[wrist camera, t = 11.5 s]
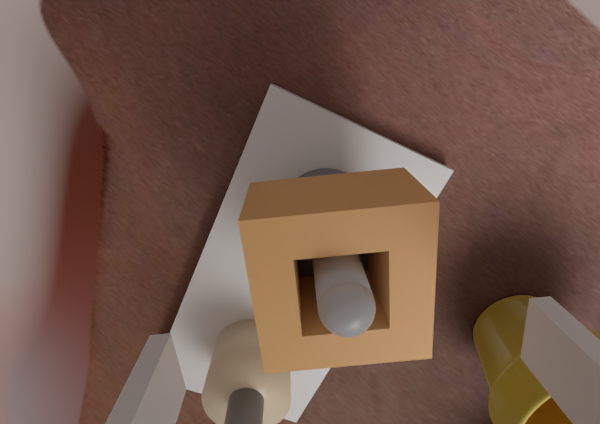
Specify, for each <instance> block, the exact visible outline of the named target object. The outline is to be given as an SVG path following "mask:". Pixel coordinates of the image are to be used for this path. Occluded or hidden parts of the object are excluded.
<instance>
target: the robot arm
mask: <svg viewBox="0 0 600 424" xmlns="http://www.w3.org/2000/svg"><path fill="white" fill-rule="evenodd" d="M520 358H521V359H522V361H523V362H524V363H525V364H526V366H527V367H528V368H529V369H530V371H531V372H532V373H533V374H534V376H535V377H536V378H537V380H538V381H539V382H540V383H541V385H542V386H543V387H544V388H545V390H546V391H547V392H548V393H549V395H550V396H551V397H552V398H553V400H554V401H555V402H556V404H557V405H558V406H559V407H560V409H561V410H562V411H563V412H564V414H565V415H566V416H567V417H568V419H569V420H570V421H571V422H572V424H600V340H599V339H598V338H597V337H596V336H595V335H594V334H593V333H591V332H590V331H589V330H588V329H587V328H586V327H585V326H584V325H582V324H581V323H580V322H579V321H578V320H577V319H576V318H574V317H573V316H572V315H571V314H570V313H569V312H568V311H567V310H565V309H564V308H563V307H562V306H561V305H560V304H559V303H558V302H556V301H555V300H554V299H553V298H552V297H551V296H547V297H536V298H529V303H528V310H527V316H526V323H525V329H524V336H523V342H522V349H521V355H520ZM185 393H186V387H185V383H184V379H183V376H182V372H181V368H180V365H179V361H178V357H177V354H176V350H175V346H174V343H173V339H172V335H171V333H167V334H157V335H150V336H149V338H148V340H147V342H146V344H145V346H144V348H143V350H142V352H141V354H140V356H139V358H138V360H137V362H136V364H135V366H134V368H133V370H132V372H131V374H130V376H129V378H128V380H127V382H126V384H125V386H124V387H123V389H122V391H121V393H120V395H119V397H118V399H117V401H116V403H115V405H114V407H113V409H112V411H111V413H110V415H109V417H108V419H107V421H106V423H105V424H176V421H177V418H178V415H179V412H180V409H181V405H182V402H183V399H184V396H185Z"/></svg>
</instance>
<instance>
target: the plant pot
mask: <svg viewBox="0 0 600 424" xmlns="http://www.w3.org/2000/svg"><path fill="white" fill-rule="evenodd" d="M529 298H536V297H534V296H530V295H515V296H511V297H507V298H503V299H501V300H499V301H497V302H495V303H493V304H492V305H490V306H489V307H488V308H486V309H485V310H484V311H483V312H482V314H481V315H480V316H479V318H478V319H477V321H476V323H475V325H474V329H473V340H474V344H475V346H476V349H477V352H478V355H479V359H480V362H481V365H482V368H483V371H484V374H485V378H486V381H487V384H488V387H489V390H490V393H489V398H488V409H489V414H490V418H491V420H492V422H493V424H572V422H571V421H570V420H569V419H568V417H567V416H566V415H565V414H564V412H563V411H562V410H561V409H560V407H559V406H558V405H557V404H556V402H555V401H554V400H553V398H552V397H551V396H550V395H549V393H548V392H547V391H546V390H545V388H544V387H543V386H542V385H541V383H540V382H539V381H538V380H537V378H536V377H535V376H534V374H533V373H532V372H531V371H530V369H529V368H528V367H527V366H526V364H525V363H524V362H523V361H522V359H521V358H520V355H521V349H522V342H523V336H524V329H525V323H526V316H527V310H528V303H529ZM582 325H583V324H582ZM584 326H585V325H584ZM585 327H586V326H585ZM586 328H587V329H588V330H589V331H590V332H591V333H593V334H594V335H595V336H596V337H597V338H598V339H599V340H600V332H595V331H593V330H591V329H590V328H588V327H586Z"/></svg>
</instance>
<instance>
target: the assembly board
mask: <svg viewBox="0 0 600 424" xmlns="http://www.w3.org/2000/svg"><path fill="white" fill-rule="evenodd" d="M402 167H404V168H405V169H406V170H407V171H408V172H409V173H410V174H412V175H413V176H414V177H415V178H416V179H417V180H418V181H419V182H420V183H421V184H422V185H423V186H424V187H425V188H426V189H427V190H428V191H429V192H430V193H431V194H433V195H434V196H435V197H436V198H437V197H438V196H439V194H440V192H441V191H442V189H443V188H444V186H445V184H446V183H447V181H448V180H449V178H450V176H451V175H452V173H453V172H454V171H453V170H452V169H450V168H449V167H447V166H446V165H443V164H441V163H439V162H437V161H435V160H433V159H431V158H429V157H427V156H425V155H422V154H420V153H418V152H416V151H414V150H412V149H410V148H408V147H406V146H403V145H401V144H399V143H397V142H395V141H393V140H391V139H389V138H387V137H384V136H382V135H380V134H378V133H376V132H374V131H372V130H370V129H368V128H365V127H363V126H361V125H359V124H357V123H355V122H353V121H351V120H349V119H346V118H344V117H342V116H340V115H338V114H336V113H334V112H332V111H330V110H327V109H325V108H323V107H321V106H319V105H317V104H315V103H313V102H311V101H309V100H306V99H304V98H302V97H300V96H298V95H296V94H294V93H292V92H290V91H287V90H285V89H283V88H281V87H279V86H277V85H275V84H273V83H271V84H270V86H269V89H268V91H267V94H266V96H265V99H264V101H263V104H262V106H261V109H260V111H259V114H258V116H257V119H256V121H255V123H254V126H253V128H252V131H251V133H250V136H249V138H248V141H247V143H246V146H245V148H244V151H243V153H242V155H241V158H240V160H239V163H238V165H237V168H236V170H235V173H234V175H233V178H232V180H231V183H230V185H229V188H228V190H227V192H226V195H225V197H224V200H223V202H222V205H221V207H220V210H219V212H218V215H217V217H216V220H215V222H214V224H213V227H212V229H211V232H210V234H209V237H208V239H207V242H206V244H205V247H204V249H203V252H202V254H201V257H200V259H199V261H198V264H197V266H196V269H195V271H194V274H193V276H192V279H191V281H190V284H189V286H188V289H187V291H186V293H185V296H184V298H183V301H182V303H181V306H180V308H179V311H178V313H177V316H176V318H175V321H174V323H173V326H172V328H171V330H170V333H171V335H172V339H173V343H174V346H175V350H176V354H177V357H178V361H179V365H180V368H181V372H182V376H183V379H184V383H185V387H186V389H187V390H191V391H194V392H197V393H201V394H202V397H201V401H202V406H203V409H204V411H205V413H206V414H207V415H208V417H209V418H210V419H211V420H212V421H214V422H215V423H216V424H278V423H279V422H280V421H281V420H282V419H286V420H290V421H293V422H297V421H298V419H299V417H300V416H301V414H302V413H303V411H304V409H305V408H306V406H307V405H308V403H309V401H310V400H311V398H312V397H313V395H314V394H315V392H316V390H317V389H318V387H319V386H320V384H321V382H322V381H323V379H324V378H325V376H326V374H327V373H328V371H329V370H330V368H322V369H312V370H301V371H290V372H279V373H268V374H264V369H263V363H262V357H261V351H260V346H259V340H258V334H257V328H256V322H255V317H254V311H253V305H252V299H251V293H250V288H249V282H248V276H247V270H246V264H245V259H244V253H243V247H242V241H241V235H240V230H239V224H238V220H239V216H240V213H241V210H242V207H243V204H244V201H245V198H246V194H247V191H248V188H249V185H250V182H261V181H271V180H281V179H291V178H301V177H311V176H321V175H331V174H342V173H352V172H362V171H372V170H382V169H392V168H402ZM298 268H299V277H310V276H314V281H315V290H316V299H317V308H318V314H319V317H320V320H321V322H322V323H323V325H324V326H325V327H326V328H327V329H328V330H329V331H330V332H331V333H333V334H335V335H337V336H340V337H355V336H358V335H360V334H362V333H364V332H365V331H366V330H367V329H368V328H369V327H370V326H371V324H372V322H373V320H374V318H375V313H376V304H375V300H374V296H373V294H372V291H371V288H370V285H369V282H368V279H367V277H366V274H365V271H368V253H363V254H353V255H342V256H332V257H322V258H311V259H301V260H298Z"/></svg>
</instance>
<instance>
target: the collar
mask: <svg viewBox="0 0 600 424" xmlns="http://www.w3.org/2000/svg"><path fill="white" fill-rule="evenodd" d="M439 206H440V201H439V200H438V199H437V198H436V197H435V196H434V195H433V194H431V193H430V192H429V191H428V190H427V189H426V188H425V187H424V186H423V185H422V184H421V183H420V182H419V181H418V180H417V179H416V178H415V177H414V176H413V175H412V174H410V173H409V172H408V171H407V170H406V169H405V168H404V167H402V168H392V169H382V170H372V171H362V172H352V173H342V174H331V175H321V176H311V177H301V178H291V179H281V180H271V181H261V182H250V185H249V188H248V191H247V194H246V198H245V201H244V204H243V207H242V210H241V213H240V216H239V220H238V224H239V230H240V235H241V241H242V247H243V253H244V259H245V264H246V270H247V276H248V282H249V288H250V293H251V299H252V305H253V311H254V317H255V322H256V328H257V334H258V340H259V346H260V351H261V357H262V363H263V369H264V374H268V373H279V372H290V371H301V370H312V369H322V368H333V367H344V366H355V365H366V364H377V363H387V362H398V361H409V360H420V359H431V358H432V347H433V327H434V307H435V287H436V266H437V246H438V226H439ZM363 253H368V271H365V274H366V277H367V279H368V282H369V285H370V288H371V291H372V294H373V296H374V300H375V304H376V313H375V318H374V320H373V322H372V324H371V326H370V327H369V328H368V329H367V330H366V331H365V332H364V333H362V334H360V335H358V336H355V337H340V336H337V335H335V334H333V333H331V332H330V331H329V330H328V329H327V328H326V327H325V326H324V325H323V323H322V322H321V320H320V317H319V314H318V308H317V299H316V290H315V281H314V276H310V277H299V268H298V260H301V259H311V258H322V257H332V256H342V255H353V254H363Z"/></svg>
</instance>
